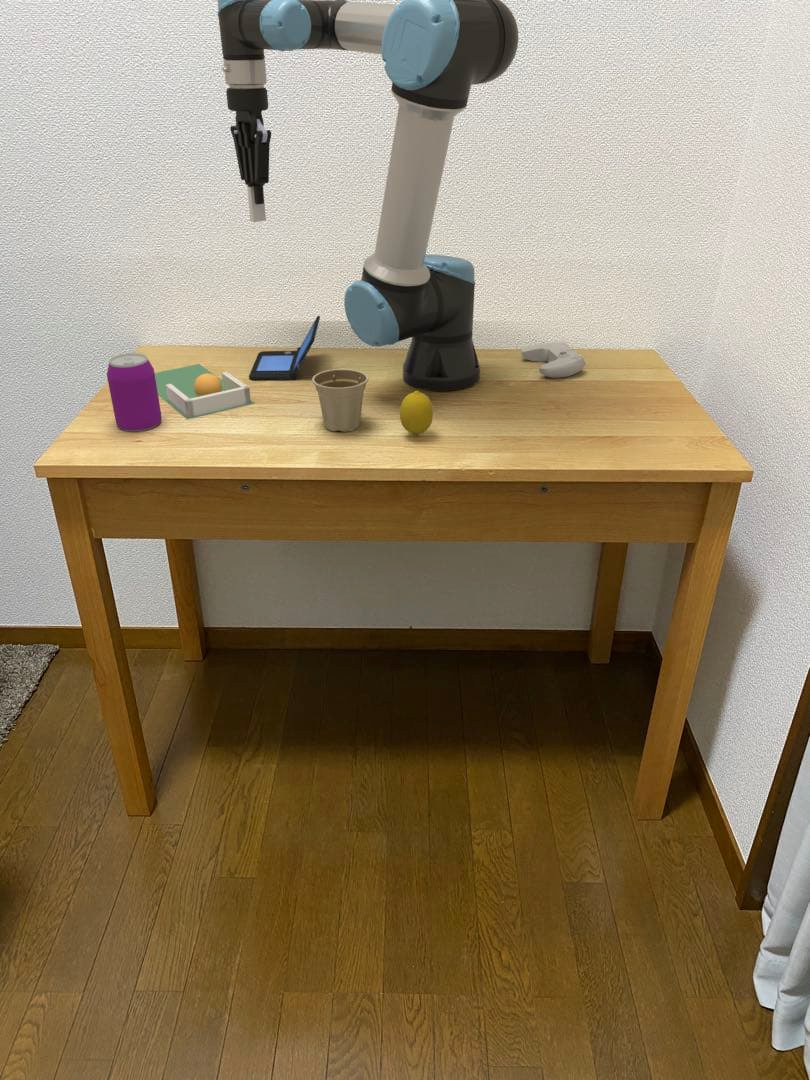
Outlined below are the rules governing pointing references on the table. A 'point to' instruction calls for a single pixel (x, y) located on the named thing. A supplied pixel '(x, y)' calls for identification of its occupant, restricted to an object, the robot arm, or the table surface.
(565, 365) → the game controller
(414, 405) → the lemon
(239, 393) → the white u-shaped frame
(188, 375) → the putting mat
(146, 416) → the beverage can
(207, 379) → the orange ball
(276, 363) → the handheld game console
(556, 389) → the table surface
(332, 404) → the flower pot
